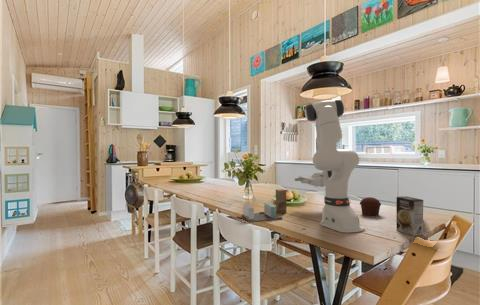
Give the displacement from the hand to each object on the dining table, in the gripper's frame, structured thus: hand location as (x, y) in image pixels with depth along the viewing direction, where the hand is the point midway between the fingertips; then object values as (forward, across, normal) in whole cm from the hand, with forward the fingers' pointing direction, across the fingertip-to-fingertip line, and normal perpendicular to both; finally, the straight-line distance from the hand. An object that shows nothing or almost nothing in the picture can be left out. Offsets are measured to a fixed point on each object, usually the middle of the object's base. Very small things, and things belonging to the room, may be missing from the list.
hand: (298, 180), depth 170 cm
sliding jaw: (+23, +9, +18) cm, 30 cm away
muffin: (-36, +22, +19) cm, 46 cm away
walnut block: (+12, +1, +19) cm, 23 cm away
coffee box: (-30, +55, +18) cm, 65 cm away
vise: (+28, +9, +19) cm, 35 cm away
